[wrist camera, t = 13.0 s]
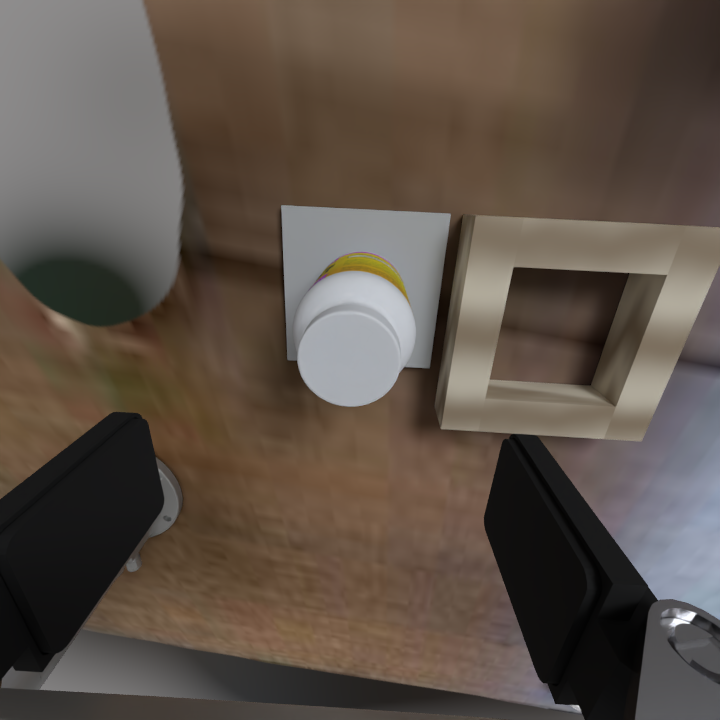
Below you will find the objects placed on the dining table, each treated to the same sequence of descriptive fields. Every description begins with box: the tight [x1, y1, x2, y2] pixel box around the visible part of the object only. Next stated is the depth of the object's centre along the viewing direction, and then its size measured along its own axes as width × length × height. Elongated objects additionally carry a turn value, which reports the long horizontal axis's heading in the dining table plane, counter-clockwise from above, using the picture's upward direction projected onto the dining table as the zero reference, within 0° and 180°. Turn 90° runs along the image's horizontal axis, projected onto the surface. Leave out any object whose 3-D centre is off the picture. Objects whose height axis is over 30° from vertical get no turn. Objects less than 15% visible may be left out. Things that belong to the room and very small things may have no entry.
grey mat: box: [281, 205, 451, 368], centre depth 28 cm, size 12×12×1 cm
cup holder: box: [434, 214, 720, 441], centre depth 27 cm, size 16×16×4 cm
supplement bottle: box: [293, 251, 416, 407], centre depth 22 cm, size 7×7×13 cm
